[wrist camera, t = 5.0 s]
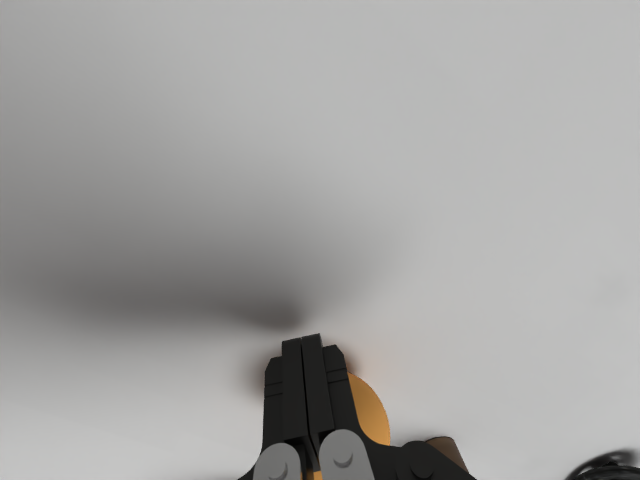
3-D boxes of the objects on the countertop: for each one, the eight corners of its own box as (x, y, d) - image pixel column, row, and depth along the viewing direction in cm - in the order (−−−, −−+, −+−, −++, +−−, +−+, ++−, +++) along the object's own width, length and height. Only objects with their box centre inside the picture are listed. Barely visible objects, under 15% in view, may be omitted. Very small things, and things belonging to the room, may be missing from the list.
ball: (278, 550, 10) (294, 484, 15) (420, 515, 11) (392, 460, 15) (256, 391, 12) (277, 376, 17) (380, 363, 12) (366, 356, 17)
